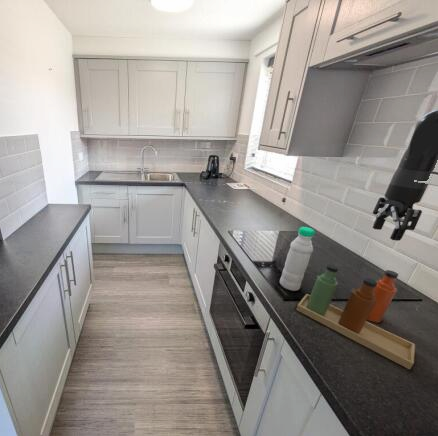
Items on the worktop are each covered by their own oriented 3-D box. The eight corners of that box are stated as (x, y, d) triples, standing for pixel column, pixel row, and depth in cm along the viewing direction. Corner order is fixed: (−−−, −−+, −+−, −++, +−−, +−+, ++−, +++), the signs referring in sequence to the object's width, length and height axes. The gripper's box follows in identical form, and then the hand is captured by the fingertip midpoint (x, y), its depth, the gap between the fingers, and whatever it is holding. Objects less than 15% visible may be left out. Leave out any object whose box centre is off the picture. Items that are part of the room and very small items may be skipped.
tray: (411, 349, 66) (415, 344, 65) (409, 369, 60) (413, 363, 59) (304, 298, 85) (306, 293, 84) (295, 309, 79) (297, 304, 78)
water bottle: (280, 278, 96) (296, 223, 87) (300, 284, 92) (319, 228, 83) (277, 286, 91) (295, 229, 81) (298, 294, 87) (319, 234, 78)
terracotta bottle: (374, 312, 80) (396, 269, 73) (384, 324, 75) (409, 279, 68) (355, 309, 81) (376, 266, 74) (365, 320, 76) (387, 276, 69)
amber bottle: (354, 322, 74) (376, 277, 68) (364, 335, 69) (388, 288, 63) (334, 318, 75) (354, 273, 69) (343, 331, 71) (365, 284, 64)
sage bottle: (321, 306, 81) (338, 263, 74) (328, 317, 76) (347, 273, 69) (304, 303, 82) (319, 260, 75) (309, 314, 77) (327, 269, 70)
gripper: (446, 191, 60) (417, 246, 66) (405, 180, 73) (384, 227, 79) (411, 188, 62) (386, 242, 68) (377, 178, 75) (358, 224, 81)
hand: (385, 234), depth 74 cm, fingers open, 8 cm apart
